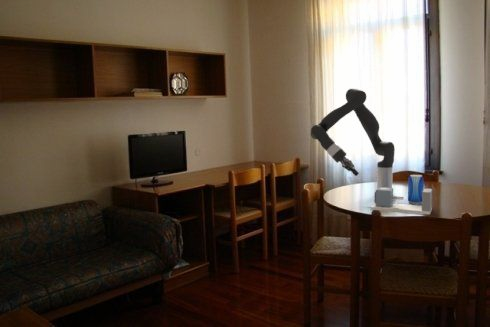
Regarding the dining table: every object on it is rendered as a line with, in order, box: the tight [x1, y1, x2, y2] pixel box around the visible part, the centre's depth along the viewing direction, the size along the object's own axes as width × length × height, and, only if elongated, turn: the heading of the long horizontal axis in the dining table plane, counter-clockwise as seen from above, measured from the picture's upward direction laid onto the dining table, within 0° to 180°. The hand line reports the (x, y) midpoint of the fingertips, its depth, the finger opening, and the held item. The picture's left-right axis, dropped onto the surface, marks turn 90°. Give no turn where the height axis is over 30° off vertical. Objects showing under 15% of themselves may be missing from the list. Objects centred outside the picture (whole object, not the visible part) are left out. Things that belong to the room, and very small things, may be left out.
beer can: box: [407, 174, 425, 205], centre depth 261 cm, size 8×8×16 cm
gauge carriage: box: [374, 187, 405, 207], centre depth 249 cm, size 10×15×9 cm, turn 63°
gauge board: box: [370, 187, 433, 215], centre depth 247 cm, size 12×30×12 cm, turn 63°
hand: (357, 174), depth 256 cm, fingers closed
